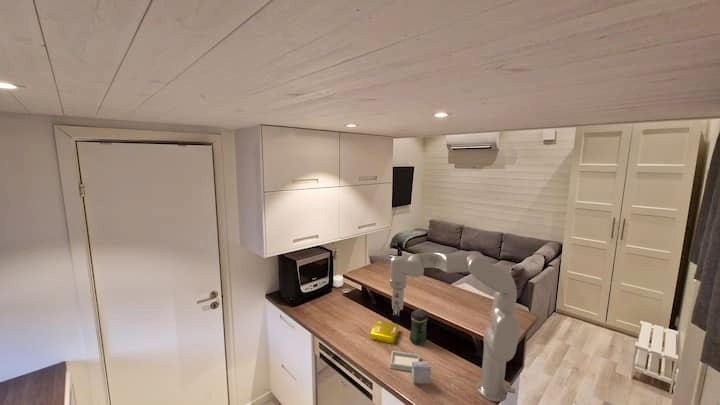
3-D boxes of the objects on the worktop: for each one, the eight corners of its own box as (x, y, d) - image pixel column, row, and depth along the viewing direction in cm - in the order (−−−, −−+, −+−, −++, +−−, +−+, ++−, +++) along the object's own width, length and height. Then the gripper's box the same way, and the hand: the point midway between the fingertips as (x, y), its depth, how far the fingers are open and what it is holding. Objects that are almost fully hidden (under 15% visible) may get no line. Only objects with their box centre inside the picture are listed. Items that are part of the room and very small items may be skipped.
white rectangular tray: (419, 357, 157) (419, 354, 156) (419, 372, 146) (419, 368, 146) (391, 354, 159) (391, 350, 159) (389, 367, 149) (389, 363, 148)
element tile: (394, 345, 168) (394, 337, 167) (369, 339, 173) (369, 331, 172) (399, 331, 182) (399, 323, 181) (376, 326, 187) (376, 319, 186)
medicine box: (427, 377, 143) (428, 360, 142) (429, 383, 139) (430, 367, 137) (411, 377, 143) (412, 361, 141) (413, 384, 138) (414, 367, 137)
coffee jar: (418, 347, 166) (419, 316, 163) (407, 340, 172) (409, 311, 169) (428, 340, 172) (430, 311, 169) (417, 334, 178) (419, 306, 175)
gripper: (405, 291, 127) (403, 328, 129) (406, 276, 144) (405, 309, 146) (388, 290, 128) (386, 326, 131) (391, 275, 145) (390, 307, 148)
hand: (396, 317), depth 139 cm, fingers open, 9 cm apart
